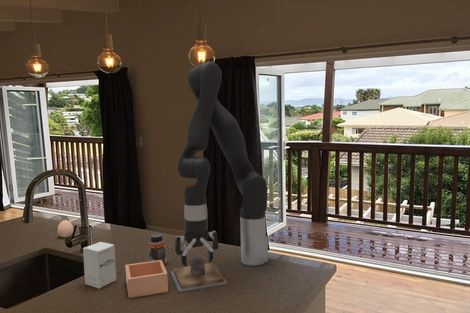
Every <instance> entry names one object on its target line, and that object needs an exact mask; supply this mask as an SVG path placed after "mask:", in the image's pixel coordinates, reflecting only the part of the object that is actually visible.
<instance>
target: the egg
mask: <svg viewBox="0 0 470 313" xmlns="http://www.w3.org/2000/svg"><path fill="white" fill-rule="evenodd" d="M73 232H74V226H73V223H72V222H71V221H69V220H67V219H64V220H62V221H60V222H59V224H58V225H57V234H58V235H59V236H60V237H61V238H69V237H70V236H71V235H72V234H73Z"/></svg>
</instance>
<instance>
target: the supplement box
mask: <svg viewBox="0 0 470 313" xmlns="http://www.w3.org/2000/svg"><path fill="white" fill-rule="evenodd" d="M115 249H116V248H115V244H113V243H108V242H103V241H99V242H96V243H93V244H91V245H89V246H85V247H83V248H82V252H83V254H82V256H83V270H84V271H83V272H84V284H85V285H87V286H91V287H93V288H96V289H98V290H99V289H101V288H103V287H105V286H107V285H109V284H112V283H114V282H115V281H117V267H116V250H115Z"/></svg>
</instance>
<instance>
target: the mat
mask: <svg viewBox="0 0 470 313" xmlns="http://www.w3.org/2000/svg"><path fill="white" fill-rule="evenodd" d="M213 265H214V266H215V264H213ZM215 267H216V266H215ZM216 269H217V270H218V271H219V269H218V268H217V267H216ZM169 273H170V275H171V278H172V280H173V283H174V285H175V287H176V289H177V292H178V293H180V294H181V293H187V292H191V291H192V292H193V291H198V290H204V289H209V288H214V287H215V288H216V287H220V286H227V285H228V281H227V280H226V279H225V277H224V276H223V275H222V274H221V271H219V273H220V274H221V275H222V277H223V278H224V282H220V283H214V284H208V285H202V286H196V287H190V288H185V289H181V287H180V285H179V283H178V280H177V278H176V276H175V274H174V271H173V270H170V271H169Z"/></svg>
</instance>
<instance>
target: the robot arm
mask: <svg viewBox="0 0 470 313" xmlns="http://www.w3.org/2000/svg"><path fill="white" fill-rule="evenodd" d="M222 76H223V74H222V70H221V68H220V66H219V65H218V64H217V63H215V62H213V61H205V62H203V63H201V64H199V65H197V66H195V67H192V68H191V69H190V70H189V71H188V74H187V81H188V85H189V87H190V88H189V89H191V91H192V93H193V95H194V96H195V98H196V100H197V104H196V106H195V109H194V110H193V112H192V116H191V118H190V120H189V124H188V128H187V136H186V143H185V146H184V148H183V150H182V153H181V156H180V158H179V160H178V163H177V172H178V174H179V176H180V177H182V178H183V179H195V180H196V181H195V184H190V185H187V186H186V187H184V189H183V190H184V194H183V197H184V208H183V209H184V211H183V213H184V216H183V217H184V234H183V235H179V234H177V235H175V244H174V245H175V246H174V247H175V249H174V250H175V251H174V252H175V253H176V255H177V256H180V257H181V258H180V260H181V264H182V265H183V267H187V265H188V264H187V263H188V262H187V261H188V259H187V254H188V252H189V251H190V250H191V248H197V247H199V248H200V247H203V246H204V247H206V249H207V261H208V263H213V260H214V251H216V250H218V249H219V240H218V239H219V238H218V232H217V231H216V230H214V229H213V230H212V231H208V230H209V229H208V228H209V226H208V216H209V215H208V208H207V194H206V192H207V186H208V181H209V176H210V174H211V173H210V172H211V164H210V161H209V160H208V158H206V157H203V156H201V157H200V156H196V154H197V153H199V152H203V151H206V150H208V145H209V137H210V129H211V130H212V131H213V134H214V137H215V139H216V141H217V143H218V146H220V149H221V152H222V153H223V155H224V157H225V159H226V160H227V162H228V163H229V166H230V168H231V171H232V174H233V177H234V179H235V183H236V187H237V188H238V190H239V192H240V193H241V194H242V207H241V208H240V210H239V213H240V214H239V215H240V217H239V218H240V221H239V222H240V224H239V225H240V262H241V263H242V264H243V265H245V266H261V265H264V264H266V263H268V262H269V252H268V248H269V246H268V245H269V244H268V241H269V238H268V236H267V235H266V234H267V233H266V212H267V209H268V184H267V181H266V179H265V178H264V177H263V175H260V174H258V173H257V172H256V171H255V169H254V167H253V165H252V163H251V161H250V160H249V156H248V152H247V146H246V142H245V141H246V140H245V138H244V135H243V132H242V130H241V128H240V125H239V123H238V121H237V118H235V116H233V115H232V114H231V113H230V112H229V111H228V110H227V108H225V107H224V106H223V105H222V104H221V103H220V101H219V99H218V94H219V90H220V87H221V84H222V78H223V77H222ZM210 127H211V128H210ZM209 237H210V238H211V239H212V245H210V244H209V242H208V239H209ZM184 240H185V243H184V245H183V247H182V249H181V243H183V241H184Z"/></svg>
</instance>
